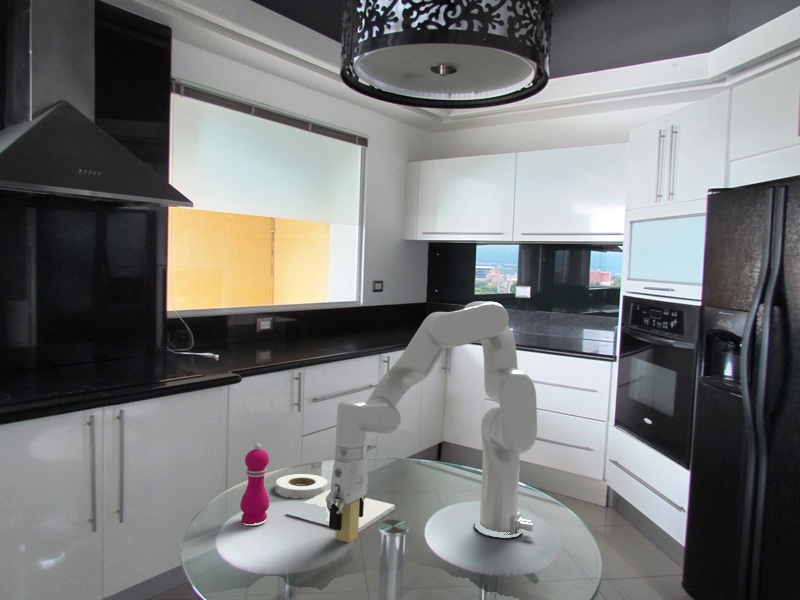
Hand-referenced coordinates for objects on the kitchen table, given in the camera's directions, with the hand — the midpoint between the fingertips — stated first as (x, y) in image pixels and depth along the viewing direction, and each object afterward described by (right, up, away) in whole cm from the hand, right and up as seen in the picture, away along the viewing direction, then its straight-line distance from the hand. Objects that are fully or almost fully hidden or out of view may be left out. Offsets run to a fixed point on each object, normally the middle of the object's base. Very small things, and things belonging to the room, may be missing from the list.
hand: (346, 522), depth 132 cm
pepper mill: (-24, -3, +7) cm, 26 cm away
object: (-17, -4, +32) cm, 37 cm away
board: (-3, -4, +16) cm, 17 cm away
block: (0, -4, 0) cm, 4 cm away
